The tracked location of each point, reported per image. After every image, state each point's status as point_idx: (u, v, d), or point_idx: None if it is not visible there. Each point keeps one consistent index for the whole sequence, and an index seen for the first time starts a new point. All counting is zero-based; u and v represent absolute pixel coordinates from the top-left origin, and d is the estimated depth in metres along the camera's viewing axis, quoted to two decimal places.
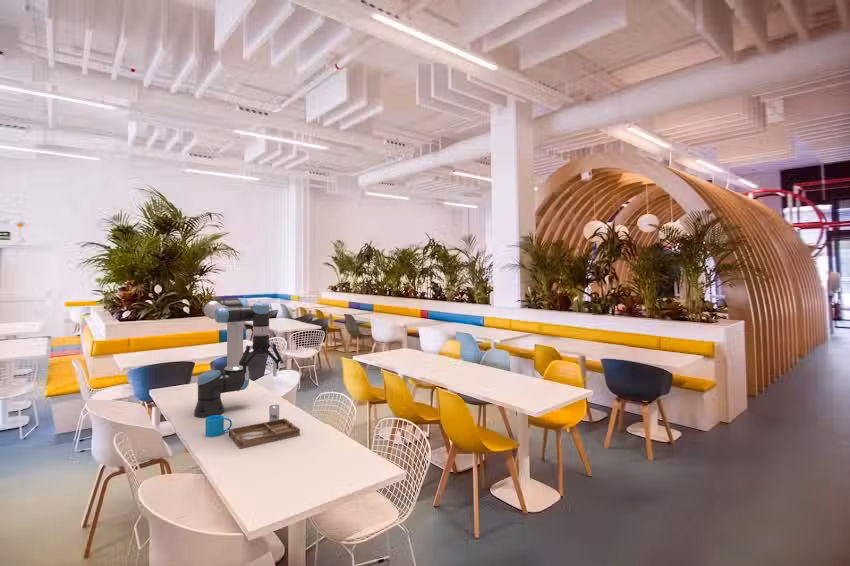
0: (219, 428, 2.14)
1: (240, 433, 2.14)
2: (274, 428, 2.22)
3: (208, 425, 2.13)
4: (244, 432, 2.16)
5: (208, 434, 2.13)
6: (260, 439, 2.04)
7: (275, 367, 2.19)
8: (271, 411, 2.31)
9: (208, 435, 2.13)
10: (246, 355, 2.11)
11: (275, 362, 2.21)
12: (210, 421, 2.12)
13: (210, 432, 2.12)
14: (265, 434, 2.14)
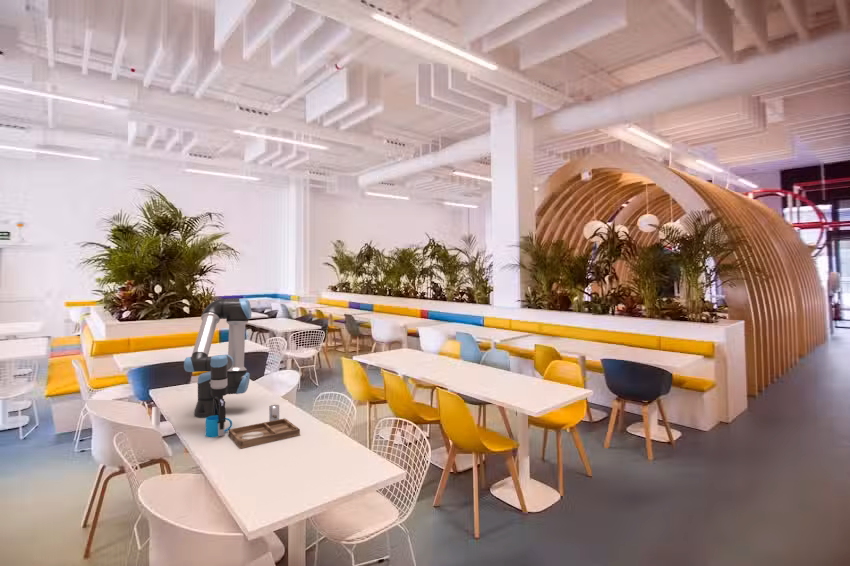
0: None
1: (240, 433, 2.14)
2: (274, 428, 2.22)
3: (208, 425, 2.12)
4: (244, 432, 2.16)
5: (208, 434, 2.12)
6: (260, 439, 2.04)
7: (218, 426, 2.13)
8: (271, 411, 2.31)
9: (208, 435, 2.12)
10: (213, 405, 2.21)
11: None
12: (210, 421, 2.12)
13: (210, 432, 2.12)
14: (265, 434, 2.14)
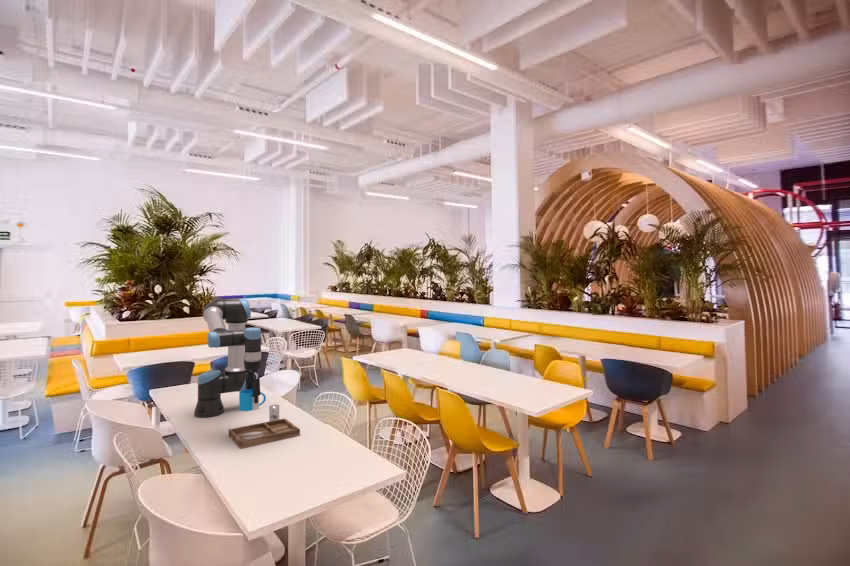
0: None
1: (240, 433, 2.14)
2: (274, 428, 2.22)
3: (242, 399, 2.06)
4: (244, 432, 2.16)
5: (242, 408, 2.06)
6: (260, 439, 2.04)
7: (252, 400, 2.07)
8: (271, 411, 2.31)
9: (242, 409, 2.06)
10: (246, 379, 2.15)
11: None
12: (244, 394, 2.06)
13: (244, 406, 2.06)
14: (265, 434, 2.14)
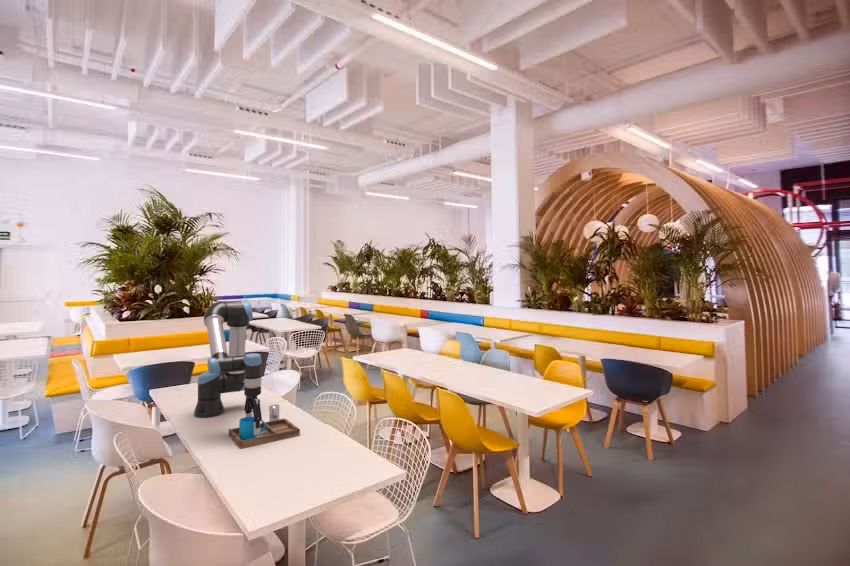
0: (253, 430, 2.08)
1: None
2: (274, 428, 2.22)
3: (242, 427, 2.07)
4: None
5: (242, 436, 2.07)
6: (260, 439, 2.04)
7: (254, 425, 2.06)
8: (271, 411, 2.31)
9: (242, 437, 2.07)
10: (245, 402, 2.16)
11: None
12: (244, 423, 2.07)
13: (244, 434, 2.07)
14: (265, 434, 2.14)
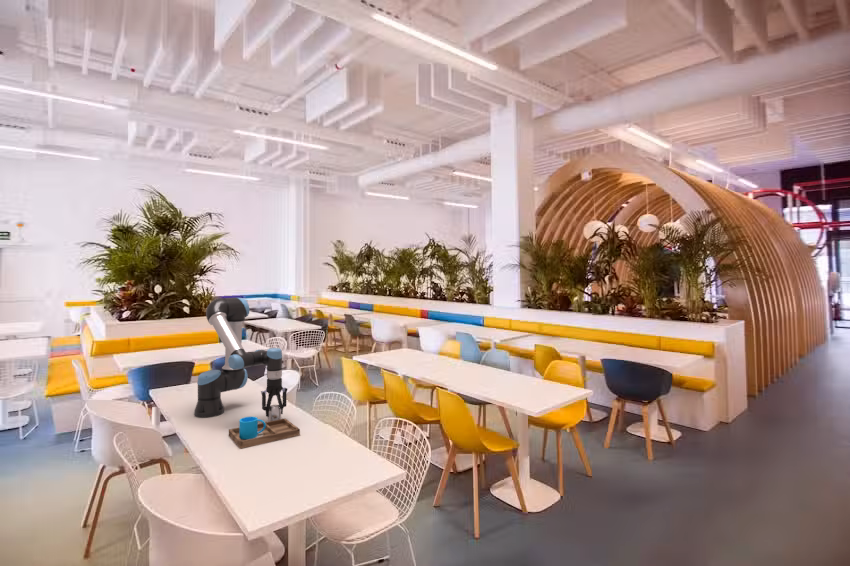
0: (253, 430, 2.08)
1: None
2: (274, 428, 2.22)
3: (242, 427, 2.07)
4: None
5: (242, 436, 2.07)
6: (260, 439, 2.04)
7: (280, 412, 2.34)
8: (271, 411, 2.31)
9: (242, 437, 2.07)
10: (265, 400, 2.29)
11: (280, 408, 2.35)
12: (244, 423, 2.07)
13: (244, 434, 2.07)
14: (265, 434, 2.14)
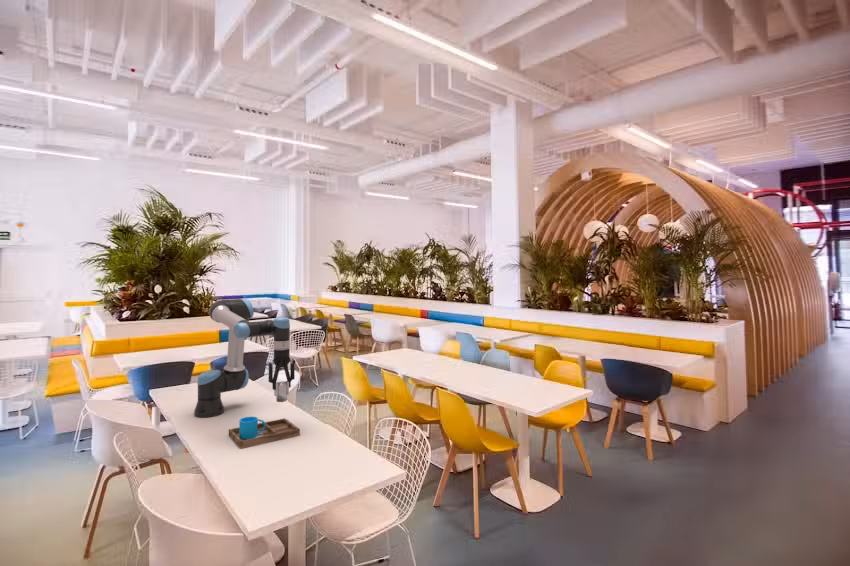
0: (253, 430, 2.08)
1: None
2: (274, 428, 2.22)
3: (242, 427, 2.07)
4: None
5: (242, 436, 2.07)
6: (260, 439, 2.04)
7: (287, 386, 2.21)
8: (278, 388, 2.18)
9: (242, 437, 2.07)
10: (272, 372, 2.16)
11: (287, 380, 2.22)
12: (244, 423, 2.07)
13: (244, 434, 2.07)
14: (265, 434, 2.14)
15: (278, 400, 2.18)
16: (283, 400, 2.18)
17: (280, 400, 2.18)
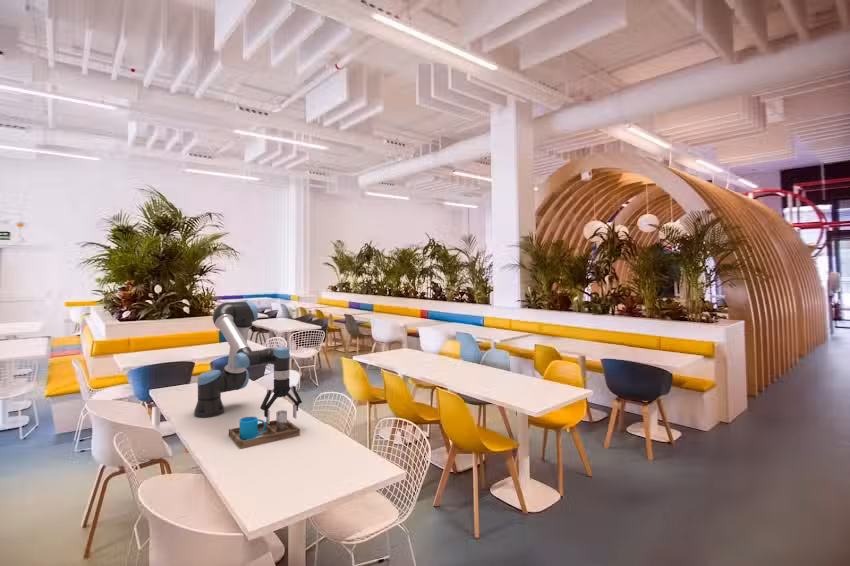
0: (253, 430, 2.08)
1: None
2: (274, 428, 2.22)
3: (242, 427, 2.07)
4: None
5: (242, 436, 2.07)
6: (260, 439, 2.04)
7: (295, 409, 2.23)
8: (278, 417, 2.18)
9: (242, 437, 2.07)
10: (267, 399, 2.15)
11: (295, 404, 2.25)
12: (244, 423, 2.07)
13: (244, 434, 2.07)
14: (265, 434, 2.14)
15: (278, 429, 2.18)
16: (283, 430, 2.18)
17: (280, 430, 2.18)
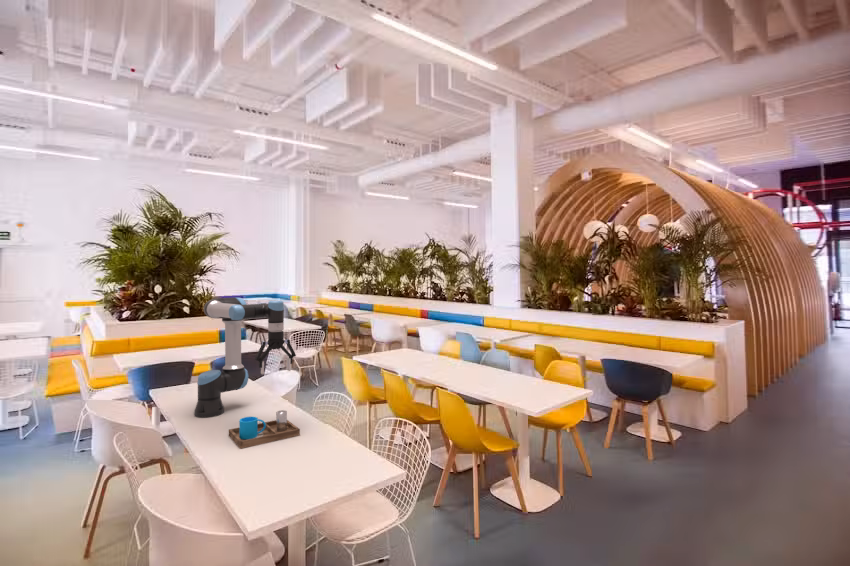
0: (253, 430, 2.08)
1: None
2: (274, 428, 2.22)
3: (242, 427, 2.07)
4: None
5: (242, 436, 2.07)
6: (260, 439, 2.04)
7: (289, 362, 2.28)
8: (278, 417, 2.18)
9: (242, 437, 2.07)
10: (262, 350, 2.19)
11: (289, 357, 2.29)
12: (244, 423, 2.07)
13: (244, 434, 2.07)
14: (265, 434, 2.14)
15: (278, 429, 2.18)
16: (283, 430, 2.18)
17: (280, 430, 2.18)
